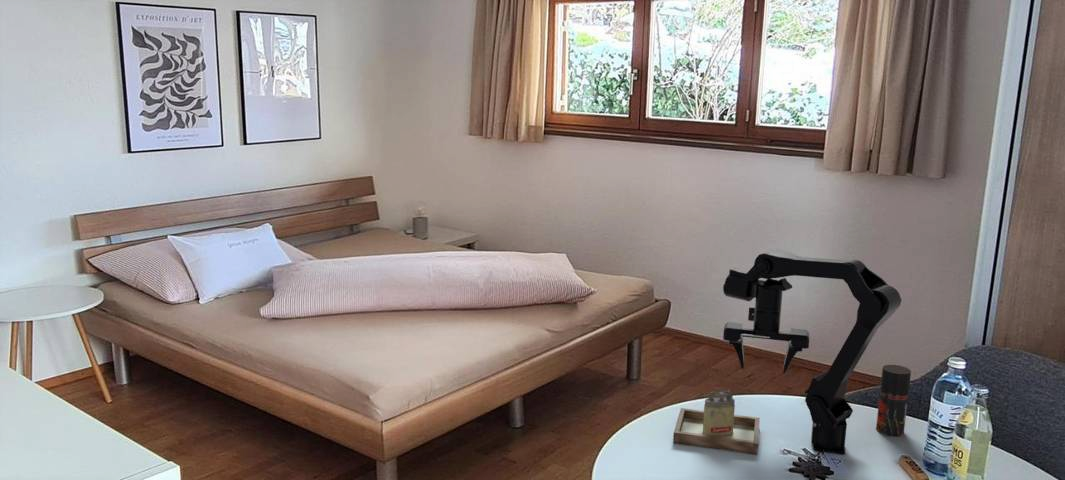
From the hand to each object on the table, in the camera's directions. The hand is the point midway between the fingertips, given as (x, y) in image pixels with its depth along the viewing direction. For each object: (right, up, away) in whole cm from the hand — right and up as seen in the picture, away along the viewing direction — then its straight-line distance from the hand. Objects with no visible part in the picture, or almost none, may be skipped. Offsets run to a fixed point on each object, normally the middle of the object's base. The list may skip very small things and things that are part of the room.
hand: (763, 370), depth 195 cm
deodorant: (+29, -14, 0) cm, 32 cm away
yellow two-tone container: (-12, -14, -4) cm, 18 cm away
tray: (-12, -14, -4) cm, 19 cm away
